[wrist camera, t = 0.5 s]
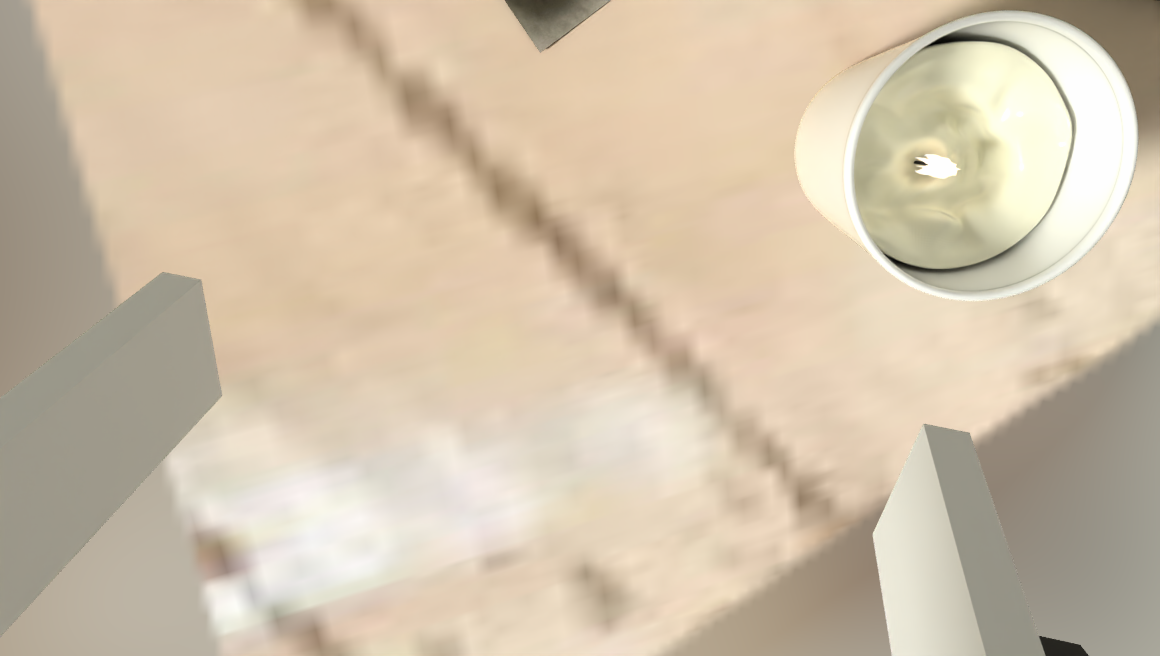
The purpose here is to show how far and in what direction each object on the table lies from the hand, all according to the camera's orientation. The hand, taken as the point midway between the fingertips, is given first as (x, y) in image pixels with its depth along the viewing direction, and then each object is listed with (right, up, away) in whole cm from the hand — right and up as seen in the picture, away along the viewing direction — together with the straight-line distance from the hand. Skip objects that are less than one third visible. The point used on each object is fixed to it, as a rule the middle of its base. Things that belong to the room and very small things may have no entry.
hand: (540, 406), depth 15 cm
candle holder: (+15, +10, +24) cm, 31 cm away
